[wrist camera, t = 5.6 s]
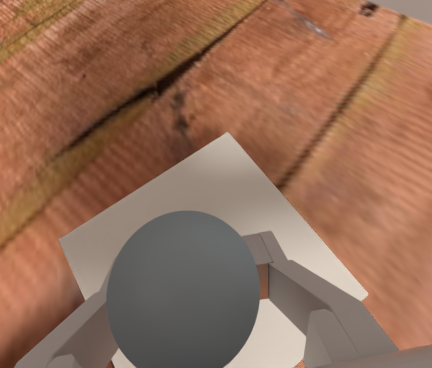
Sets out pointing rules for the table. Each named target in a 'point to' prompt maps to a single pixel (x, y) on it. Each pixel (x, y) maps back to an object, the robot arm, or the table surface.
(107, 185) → the table surface
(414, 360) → the robot arm
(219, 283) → the lid
